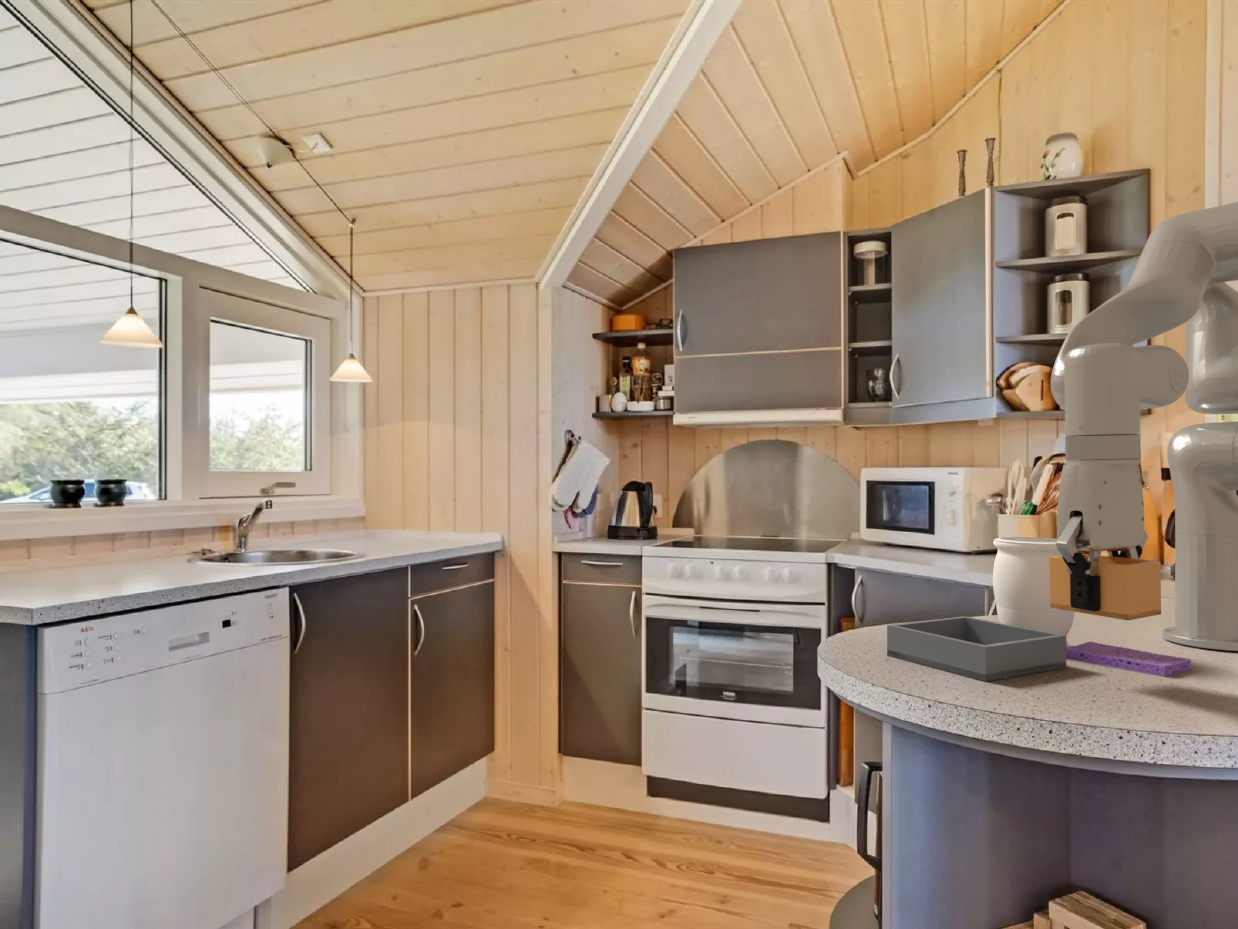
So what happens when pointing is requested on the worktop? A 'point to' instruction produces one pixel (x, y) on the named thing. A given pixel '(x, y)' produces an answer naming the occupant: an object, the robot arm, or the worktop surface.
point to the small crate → (1113, 587)
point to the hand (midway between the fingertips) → (1104, 604)
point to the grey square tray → (977, 647)
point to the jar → (1027, 585)
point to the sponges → (1128, 659)
